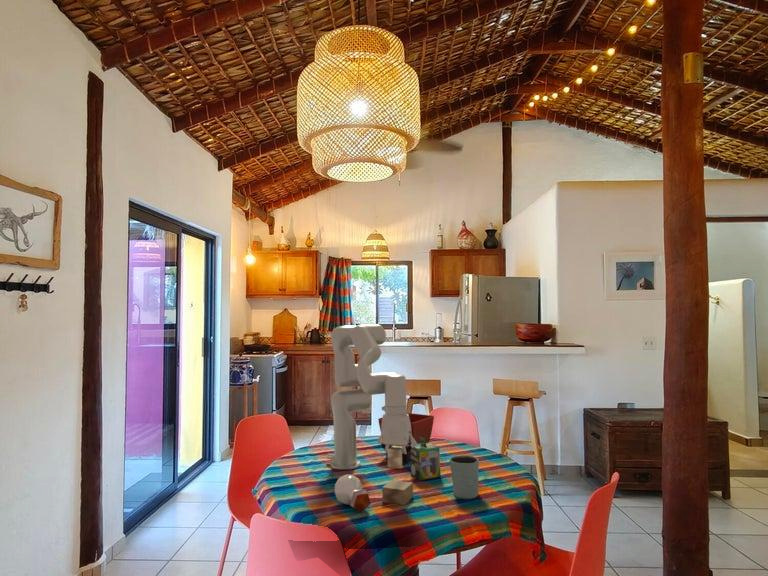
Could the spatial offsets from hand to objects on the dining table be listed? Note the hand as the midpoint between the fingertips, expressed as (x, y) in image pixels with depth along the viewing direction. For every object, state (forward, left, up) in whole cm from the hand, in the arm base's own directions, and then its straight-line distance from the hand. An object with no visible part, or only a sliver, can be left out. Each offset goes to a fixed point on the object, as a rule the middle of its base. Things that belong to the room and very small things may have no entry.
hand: (397, 463), depth 167 cm
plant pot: (-18, +52, -12) cm, 57 cm away
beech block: (0, 0, -1) cm, 1 cm away
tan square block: (0, 0, -12) cm, 12 cm away
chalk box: (0, +27, -12) cm, 30 cm away
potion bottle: (-12, -11, -12) cm, 20 cm away
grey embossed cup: (+20, +13, -12) cm, 27 cm away
